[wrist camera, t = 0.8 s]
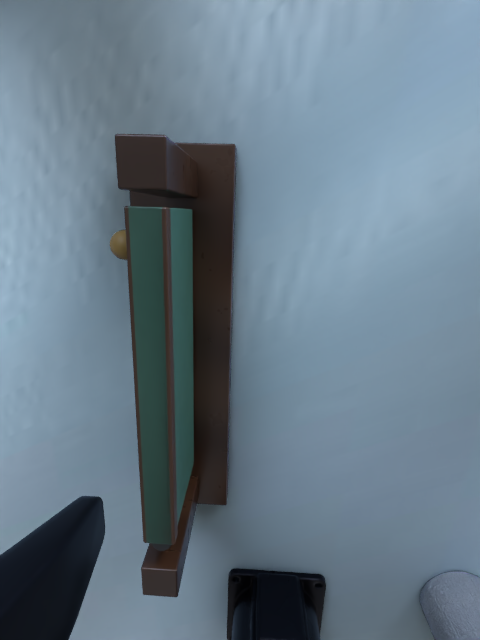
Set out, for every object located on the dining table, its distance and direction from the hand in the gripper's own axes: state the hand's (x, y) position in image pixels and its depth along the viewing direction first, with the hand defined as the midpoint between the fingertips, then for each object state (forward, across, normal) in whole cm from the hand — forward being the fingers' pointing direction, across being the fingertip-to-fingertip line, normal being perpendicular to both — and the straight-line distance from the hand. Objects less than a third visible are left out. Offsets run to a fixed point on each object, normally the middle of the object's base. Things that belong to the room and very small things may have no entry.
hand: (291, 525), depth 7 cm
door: (+12, +5, +1) cm, 13 cm away
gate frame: (+13, +5, +1) cm, 14 cm away
